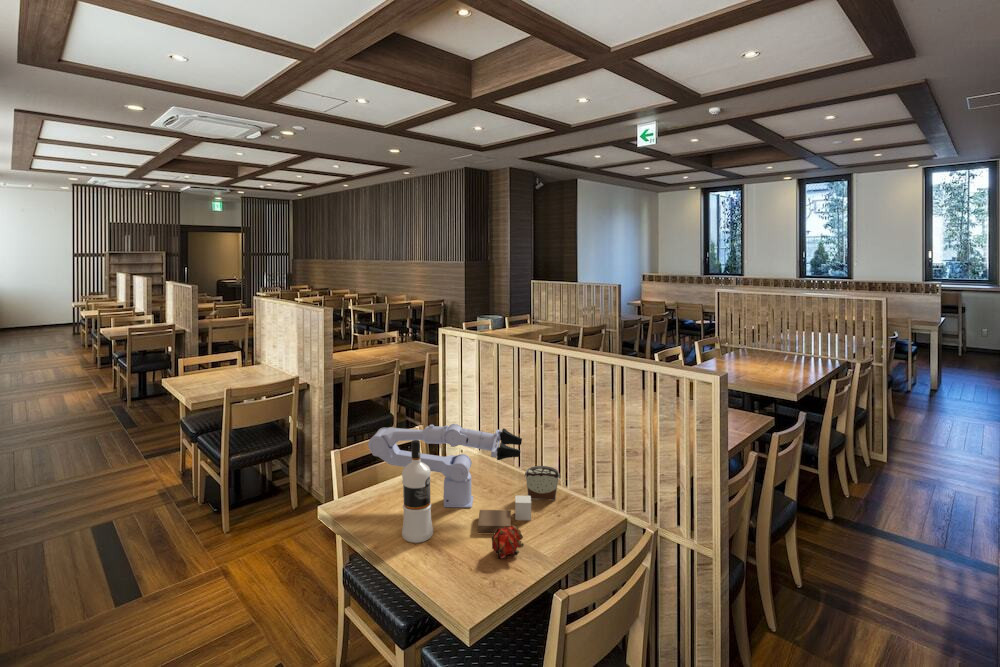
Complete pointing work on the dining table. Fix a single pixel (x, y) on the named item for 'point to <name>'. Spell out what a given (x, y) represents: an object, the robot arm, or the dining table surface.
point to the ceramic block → (522, 507)
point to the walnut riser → (493, 520)
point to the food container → (542, 482)
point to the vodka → (416, 499)
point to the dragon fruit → (507, 541)
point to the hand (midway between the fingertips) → (520, 447)
